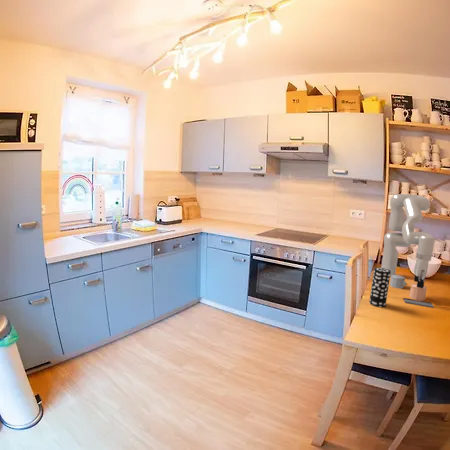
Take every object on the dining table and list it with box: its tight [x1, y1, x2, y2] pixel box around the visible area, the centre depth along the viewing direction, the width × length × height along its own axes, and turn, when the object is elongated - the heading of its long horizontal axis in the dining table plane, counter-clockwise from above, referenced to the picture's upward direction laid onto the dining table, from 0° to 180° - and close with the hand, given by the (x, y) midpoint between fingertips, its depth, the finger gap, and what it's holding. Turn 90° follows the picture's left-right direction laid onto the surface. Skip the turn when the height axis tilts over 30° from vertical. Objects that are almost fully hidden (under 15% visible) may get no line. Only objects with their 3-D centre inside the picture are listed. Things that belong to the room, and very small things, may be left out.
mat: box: [402, 297, 434, 309], centre depth 189 cm, size 14×16×1 cm
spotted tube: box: [368, 267, 391, 308], centre depth 179 cm, size 8×8×20 cm
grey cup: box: [389, 274, 406, 289], centre depth 207 cm, size 8×8×8 cm
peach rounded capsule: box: [408, 283, 428, 302], centre depth 189 cm, size 8×8×8 cm
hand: (418, 284), depth 189 cm, fingers open, 9 cm apart
